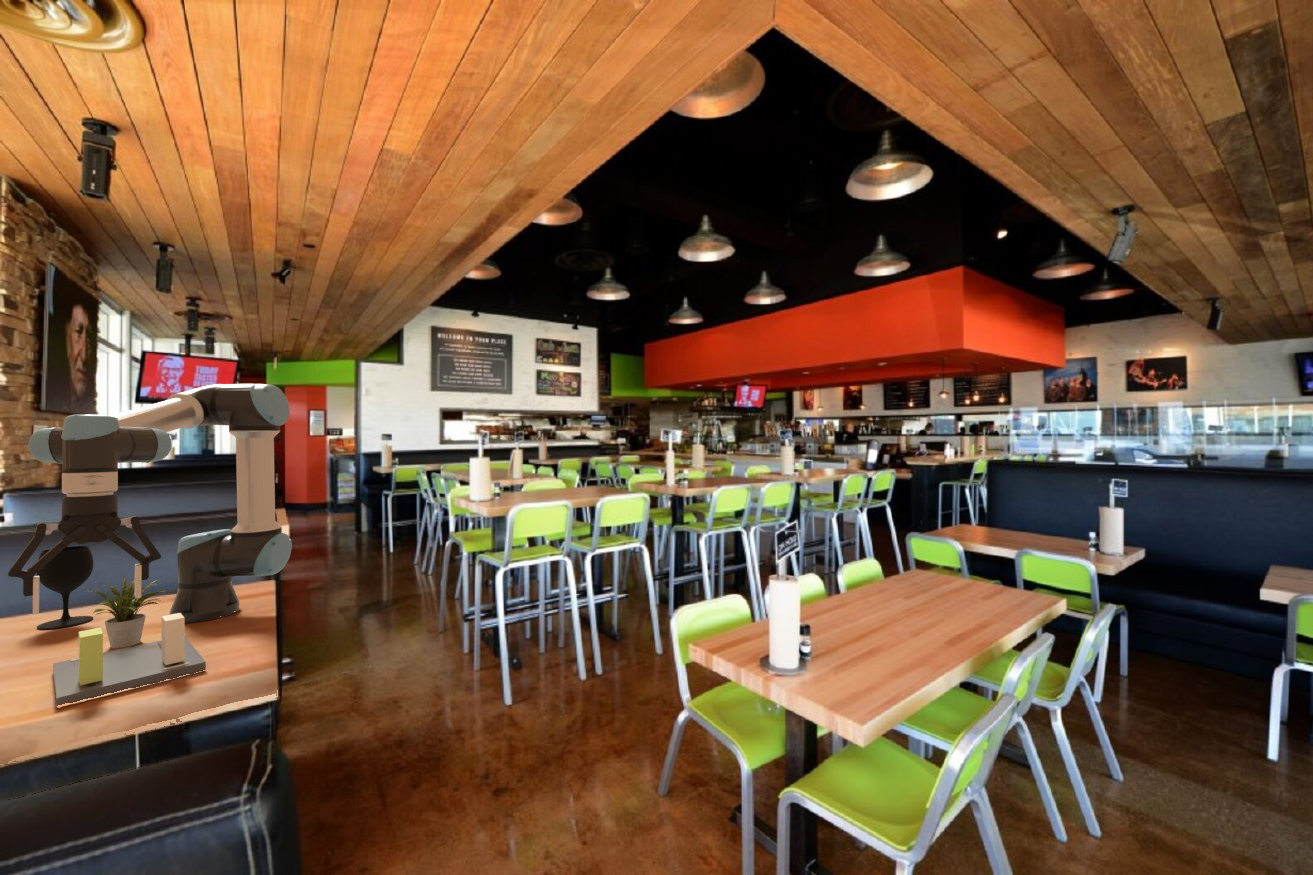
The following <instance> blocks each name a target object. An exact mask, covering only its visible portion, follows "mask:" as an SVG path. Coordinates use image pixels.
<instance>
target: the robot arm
mask: <svg viewBox="0 0 1313 875" xmlns="http://www.w3.org/2000/svg"><path fill="white" fill-rule="evenodd" d="M290 410H291V409H290V404H289V401H288V398H287V396H286V395H285V393H284V392H283V391H282V389H281V388H280V387H278V386H276V385H274V384H265V383H216V384H208V385H205V386H201V387H197V388H193V389H189V390H184V391H182V392H177V393H175V394H171V395H170V396H168V398H166V400H163V401H159V402H157V403H156V402H155V403H152V404H149V405H146V406H142V407H137V408H134V409H131V410H127V411H124V412H123V411H122V412H120V413H115V414H111V415H107V414H106V415H105V414H71V415H68V416H66V417H65V418H64V419H63V426H62V427H60V426H54V427H45V428H41V429H38V430H36V431H35V432H33V434H32V435H31V436H30V438H29V440H28V449H29V452H30V455H31V456H32V457H33V458H34V459H35V460H37V461H39V462H41V463H47V464H58V465H62V472H61V493H62V494H64V495H65V496H64V497H63V498H61V519H60V521H59V522H58V523H55V522H53V523H48V522H47V523H46V522H43V521H41V522H38V523H37V524H36V528H35V534H34V536H32V539H31V540H30V541H29V543H28V544H27V546H25V548H24V549H23V551H22V552H21V553H20V555H19V556H18V558H17V559H16V560H15V562H14V563H13V564H12V566H11V568H10V569H9V570H8V574H7V575H8V577H11V578H19V579H22V582H23V584H22V585H23V586H22V587H23V588H22V594H23V596H24V597H32V615H39V614H40V581H39V576H37V573H38V572H39V571H40V570H41V569H42V568H43V567H44V566H45V565H47V564H48V563H49V562H50V561H51V560H52V559H53V558H54V557H56V556H57V555H58V554H59V553H60V552H61V551H62V550H63V549H65V548H66V547H69V545H70V544H72V543H74V544H78V545H82V544H83V545H84V544H87V543H102V542H104V541H106V540H109V541H112V543H114V544H116V546H117V547H119V548H120V549H121V550H123V551H124V552H126V553H127V554H129V555H130V556H131V557H133V559H135V560H137V562H139V563H134V580H135V592H134V594H133V596H135V598H138V599H139V598H141V597H142V596H141V595H142V594H141V590H142V581H147V580H148V579H149V578H150V576H149V574H150V564H151V563H152V562H153V561H154V562H155V561H156V560H157V561H158V560H160V559H162V554H160V552H159V551H158V549H157V548H156V546H155V545H154V543H153V542H152V540H151V539H150V538H149V537H148V536H147V534H146V533H145V531H144V530H143V528H142V527H141V521H140V517H138V516H137V515H131V516H130V517H122V518H120V517H119V515H118V514H119V513H118V511H119V510H118V506H119V505H118V504H119V502H118V501H119V500H118V496H119V495H117V494H114V493H115V492H117V491H118V490H119V488H118V487H119V486H118V485H119V484H118V483H119V482H118V481H119V480H118V479H119V476H118V475H119V473H118V471H119V464H120V463H129V464H131V463H132V464H133V463H141V464H142V463H143V464H144V463H147V464H149V463H153V462H155V463H156V462H159V461H161V460H163V459H165V458H166V457H167V456H169V454H170V453H171V450H172V447H173V446H172V439H171V437H170V435H169V434H168V433H170V432H172V431H175V430H178V429H179V430H180V429H194V428H197V427H202V426H228V433H230V434H231V435H232V436H234V438H235V450H236V451H235V452H236V453H235V457H236V458H235V459H236V460H235V462H236V463H235V464H236V506H237V508H236V509H237V510H236V511H237V514H236V515H237V517H236V518H237V520H236V521H237V523H236V524H235V526H234V527H232V528H231V529H230V528H226V529H224V528H223V529H218V530H210V531H205V532H199V533H194V534H190V535H186V536H183V537H181V538H180V539H179V540H178V543H177V544H178V545H177V552H176V555H177V592H176V595H175V598H174V600H173V603H172V605H171V608H170V610H169V614H168V615H171V614H177V613H181V614H182V615H183V616H184V618H185V624H189V623H198V622H197V621H200V622H206V621H211V620H216V619H219V618H218V617H220V616H224V617H227V616H230V615H232V614H231V613H233V612H234V611H237V612H238V611H239V610H240V599H239V598H238V595H237V593H236V590H235V588H234V586H233V583H232V582H233V580H232V578H233V577H263V576H273V575H276V574H277V573H279V572H281V571H282V570H283V569H284V568H285V566H286V565H287V563H288V561H289V560H290V556H291V553H292V548H293V547H292V546H293V543H292V539H291V536H290V535H289V534H287V533H285V532H282V529H283V528H282V526H283V525H282V524H280V523H279V522H277V520H276V499H275V498H276V493H275V492H276V491H275V488H276V487H275V484H276V483H275V441H274V439H275V437H276V436H277V435H278V434H279V433H280V432H281V426H283V425H285V424H286V423H287V422H288V420H289V418H290V412H291V411H290ZM121 525H124V526H125V527H126V528H128V529H131V530H132V532H133V533H134V534H135V536H136V537H137V538H138V539H139V541H140V543H141V544H142V545H143V547H144V548H145V550H146V551H147V552H148V555H146V556H145V555H144V554H142V553H141V552H140V551H139V550H137V549H136V548H134V547H133V546H132V545H131V544H130V543H128V542H127V541H126V540H124V539H123V538H121V536H119V535H117V534H116V533H115V531H116V530H117V529H118V528H119V527H121ZM55 530H58V531H59V532H60V533H61V534H62V535H64V537H62V538H61V539H60V540H59V541H58V542H57V543H55V545H54V546H52V547H51V548H50V550H49V551H48V552H47V553H46V554H45V555H43V556H42V557H41V558H40V559H39V558H38V559H39V560H38V559H37V560H36V561H35V562H34V563H33V564H32V565H30V567H28V569H23V568H24V567H25V565H26V564H27V563H28V561H29V560H30V559H31V557H32V555H34V553H35V551H36V550H37V548H38V547H39V546H40V545H41V543H42V542H43V540H44V538H45V536H49V535H51V534H52V532H53V531H55ZM229 614H230V615H229ZM233 614H234V613H233ZM226 615H227V616H226ZM215 618H216V619H215ZM220 618H221V617H220Z"/></svg>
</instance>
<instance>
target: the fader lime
mask: <svg viewBox="0 0 1313 875" xmlns="http://www.w3.org/2000/svg"><path fill="white" fill-rule="evenodd" d="M103 653H104V633H103V630H102V628H101V627H95V628H93V629H91V628H90V629H86V630H81V631H78V658H79V682H80V685H85V684H89V683H93V682H97V681H101V680H103Z"/></svg>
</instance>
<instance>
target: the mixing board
mask: <svg viewBox="0 0 1313 875" xmlns="http://www.w3.org/2000/svg"><path fill="white" fill-rule="evenodd" d="M52 667H53V671H52V672H53V683H54V684H55V685H54V684H53V685H54V692H55V693H56V695H55V704H56V703H57V706H58V705H62V704H65V703H73V702H77V701H80V700H83V699H88V698H94V697H97V696H101V695H104V694H107V693H114V692H117V691H120V690H121V691H122V690H124V689H128V688H136V687H140V686H143V685H147V684H153V683H158V682H160V681H164V680H166V679H173V678H177V677H179V676H183V675H186V674H193V675H195V674H194V673H196V672H199V671H203V670H206V661H205V659H204V658H203V657H202V655H201V654H200V652H198V650H197V649H196V648H195V647H194V646H193V644H192V643H191V641H190V640H188V638H187V637H186V636H185V661H181V662H177V663H173V664H168V665H165V664H164V662H163V660H162V640H158V641H153V642H148V643H143V644H139V645H135V646H134V645H132V646H128V647H123V648H118V649H114V650H111V651H110V650H109V651H107V652H105V651H104V652H103V680H101V681H97V682H93V683H89V684H85V685H80V682H79V657H77V658H72V659H67V660H62V661H59V662H54V663H53V666H52ZM206 671H207V670H206ZM177 679H178V678H177ZM173 680H174V679H173ZM158 684H159V683H158ZM57 706H56V707H57Z"/></svg>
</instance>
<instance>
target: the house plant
mask: <svg viewBox="0 0 1313 875" xmlns="http://www.w3.org/2000/svg"><path fill="white" fill-rule="evenodd" d="M160 579H161V578H159V579H156V580H154V581H152V582H150V583H149V584H148V585H146V586H145V587H143V588H141V598H135V596H134V593H135V579H134V580H132V581H131V582H130V584H129V586H128V587H127V575H125V576H124V577H123V580H122V584H121V586H122V587H121V593H120V592H119V591H118V589H117V588H115V587H114V586H112V585H110V584H108V585H106V584H105V585H104V584H102V585H101V586H103V587H104V586H105V587H108V588H110V590H111V593H112V594H113V597H114V600H115V601H114V600H113V598H112V597H111V596H110V594H108V593H107V592H106V591H104V590H103V589H101V588H97V587H96V588H95V589H96V590H91V592H93V593H96V594H97V595H99V596H100V597H102V598H103V599H105V601H102V602H100V603H99V605H103V606H106V607H108V608H110V609H105V608H97V609H95V610H94V611H92V612H93V613H92V614H94V613H96V614H95V616H98V615H101V614H105V613H108V614H112V616H114V617H111V618H107V619H105V621H104V625H105V626H104V627H105V630H106V634H107V639H108V641H109V646H110V647H109V648H111V649H124V648H129V647H133V646H134V645H135V646H136V645H137V644H140V643H141V640H142V636H143V631H144V627H145V621H146V616H147V615H146V614H145V613H138V612H139V611H141V610H142V609H143V608H144V607H145V606H147V605H152V604H155V605H159V603H158V602H162V603H163V601H162V600H160V598H153V599H149V598H151V597H153V596H156V595H158V594H161V593H164V592H168V591H169V590H158V591H153V592H150V593H149V592H148V593H146V594H143V593H144V592H145V591H146V590H151V589H152V587H151V586H153V584H154V583H155V584H154V586H157V584H156V582H157V581H159V580H160ZM97 590H99V591H97ZM100 591H101V592H100ZM85 592H90V590H87V591H84V593H85ZM147 599H148V600H147ZM156 601H158V602H156ZM139 608H140V609H139ZM102 611H103V612H102Z"/></svg>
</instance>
